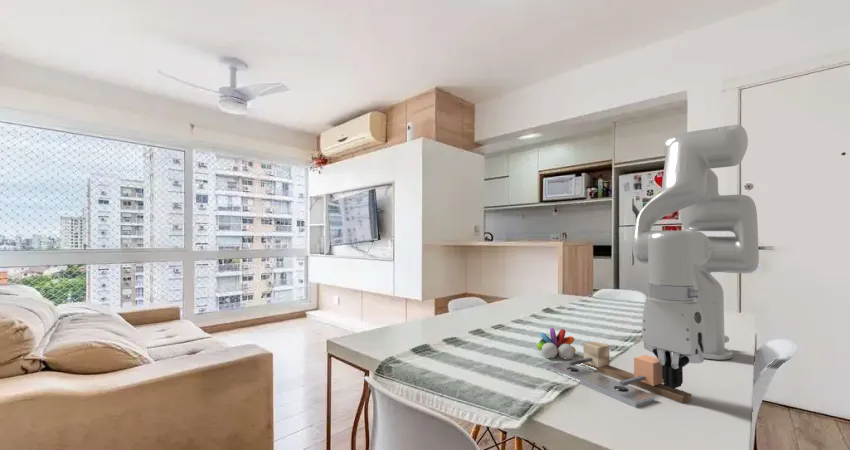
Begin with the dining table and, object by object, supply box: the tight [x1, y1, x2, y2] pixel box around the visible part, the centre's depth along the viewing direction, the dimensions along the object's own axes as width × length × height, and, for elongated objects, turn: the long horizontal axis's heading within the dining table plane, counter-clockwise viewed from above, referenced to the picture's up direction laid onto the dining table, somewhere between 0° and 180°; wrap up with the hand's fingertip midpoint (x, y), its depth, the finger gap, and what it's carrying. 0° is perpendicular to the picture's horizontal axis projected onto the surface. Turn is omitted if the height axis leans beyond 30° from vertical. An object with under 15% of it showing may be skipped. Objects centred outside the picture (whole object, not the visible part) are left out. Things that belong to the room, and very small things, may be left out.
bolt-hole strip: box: [546, 360, 656, 408], centre depth 80 cm, size 6×22×1 cm, turn 27°
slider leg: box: [619, 354, 664, 386], centre depth 76 cm, size 11×4×4 cm, turn 117°
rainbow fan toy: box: [536, 327, 577, 360], centre depth 99 cm, size 8×10×7 cm
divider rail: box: [567, 340, 692, 404], centre depth 80 cm, size 11×24×6 cm, turn 27°
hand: (672, 385), depth 73 cm, fingers closed
